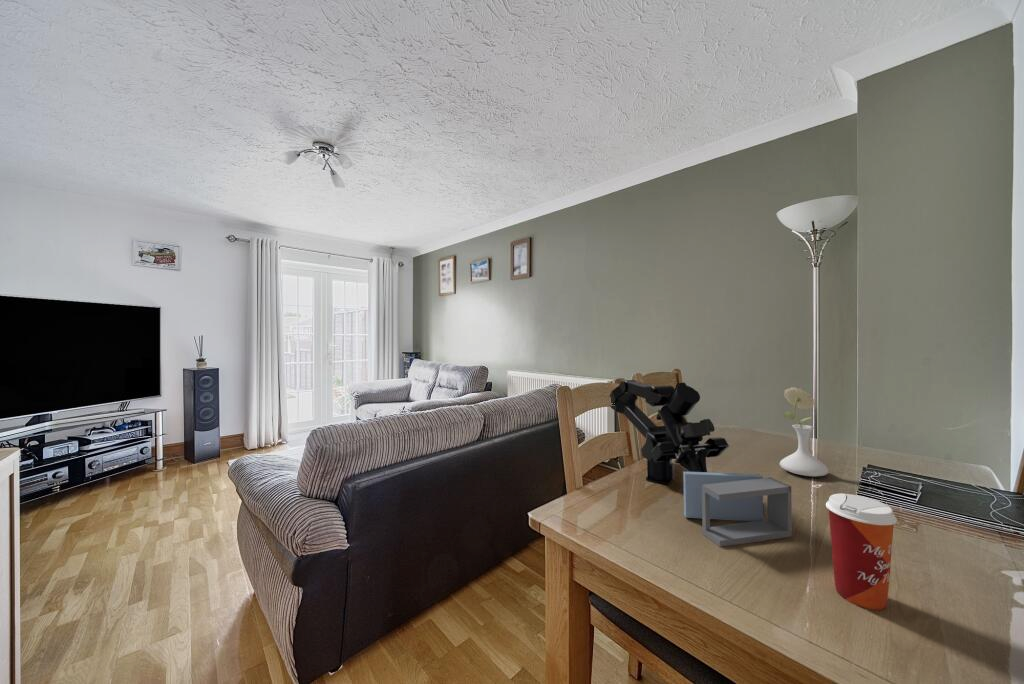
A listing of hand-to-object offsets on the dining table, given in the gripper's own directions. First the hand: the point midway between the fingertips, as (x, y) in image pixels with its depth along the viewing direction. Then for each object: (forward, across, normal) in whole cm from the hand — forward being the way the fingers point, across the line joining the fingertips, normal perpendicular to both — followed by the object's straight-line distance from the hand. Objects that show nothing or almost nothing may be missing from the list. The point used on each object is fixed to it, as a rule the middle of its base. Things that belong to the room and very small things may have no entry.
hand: (706, 482), depth 89 cm
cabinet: (+13, 0, -3) cm, 13 cm away
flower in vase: (-5, +43, +15) cm, 46 cm away
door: (+8, +1, +1) cm, 8 cm away
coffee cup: (+27, +4, -17) cm, 32 cm away
